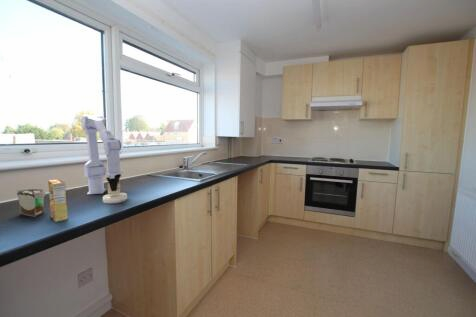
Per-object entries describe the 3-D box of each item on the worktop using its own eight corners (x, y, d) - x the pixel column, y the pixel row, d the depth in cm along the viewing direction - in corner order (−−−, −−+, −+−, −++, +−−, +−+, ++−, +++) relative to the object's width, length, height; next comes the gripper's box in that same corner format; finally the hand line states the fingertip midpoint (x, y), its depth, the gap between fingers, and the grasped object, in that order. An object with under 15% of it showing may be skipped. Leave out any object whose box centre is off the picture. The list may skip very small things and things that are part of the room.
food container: (54, 212, 97) (52, 190, 96) (37, 217, 92) (35, 193, 90) (35, 208, 101) (33, 187, 100) (18, 213, 96) (16, 190, 94)
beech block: (109, 192, 117) (109, 183, 116) (120, 191, 118) (119, 182, 118) (108, 194, 112) (107, 185, 111) (119, 194, 114) (118, 184, 113)
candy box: (50, 216, 93) (47, 180, 91) (63, 213, 96) (60, 178, 94) (55, 222, 87) (52, 183, 85) (68, 219, 90) (65, 182, 88)
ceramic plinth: (104, 198, 119) (104, 193, 118) (127, 196, 123) (127, 191, 122) (101, 204, 109) (100, 199, 108) (126, 202, 113) (126, 197, 112)
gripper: (120, 165, 108) (122, 192, 110) (123, 161, 122) (124, 185, 123) (103, 165, 106) (105, 193, 107) (108, 161, 119) (110, 186, 121)
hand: (114, 189), depth 115 cm, fingers closed on beech block, 5 cm apart
